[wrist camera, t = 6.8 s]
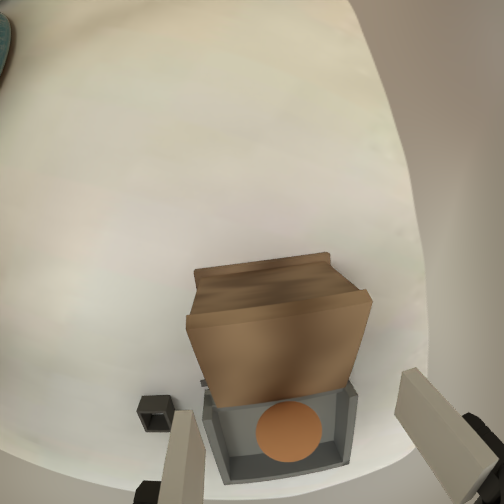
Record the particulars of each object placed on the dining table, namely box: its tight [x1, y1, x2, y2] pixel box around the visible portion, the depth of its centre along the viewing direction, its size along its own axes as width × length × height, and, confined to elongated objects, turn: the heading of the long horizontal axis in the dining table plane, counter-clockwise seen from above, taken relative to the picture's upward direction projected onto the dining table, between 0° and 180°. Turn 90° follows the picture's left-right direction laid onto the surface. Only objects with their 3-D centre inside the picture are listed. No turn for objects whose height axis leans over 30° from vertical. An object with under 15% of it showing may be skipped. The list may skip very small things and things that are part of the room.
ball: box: [256, 401, 322, 462], centre depth 20 cm, size 5×5×5 cm
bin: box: [202, 379, 358, 485], centre depth 27 cm, size 14×11×4 cm
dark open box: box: [137, 395, 175, 432], centre depth 26 cm, size 3×3×2 cm
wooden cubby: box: [186, 252, 373, 408], centre depth 21 cm, size 11×10×10 cm
